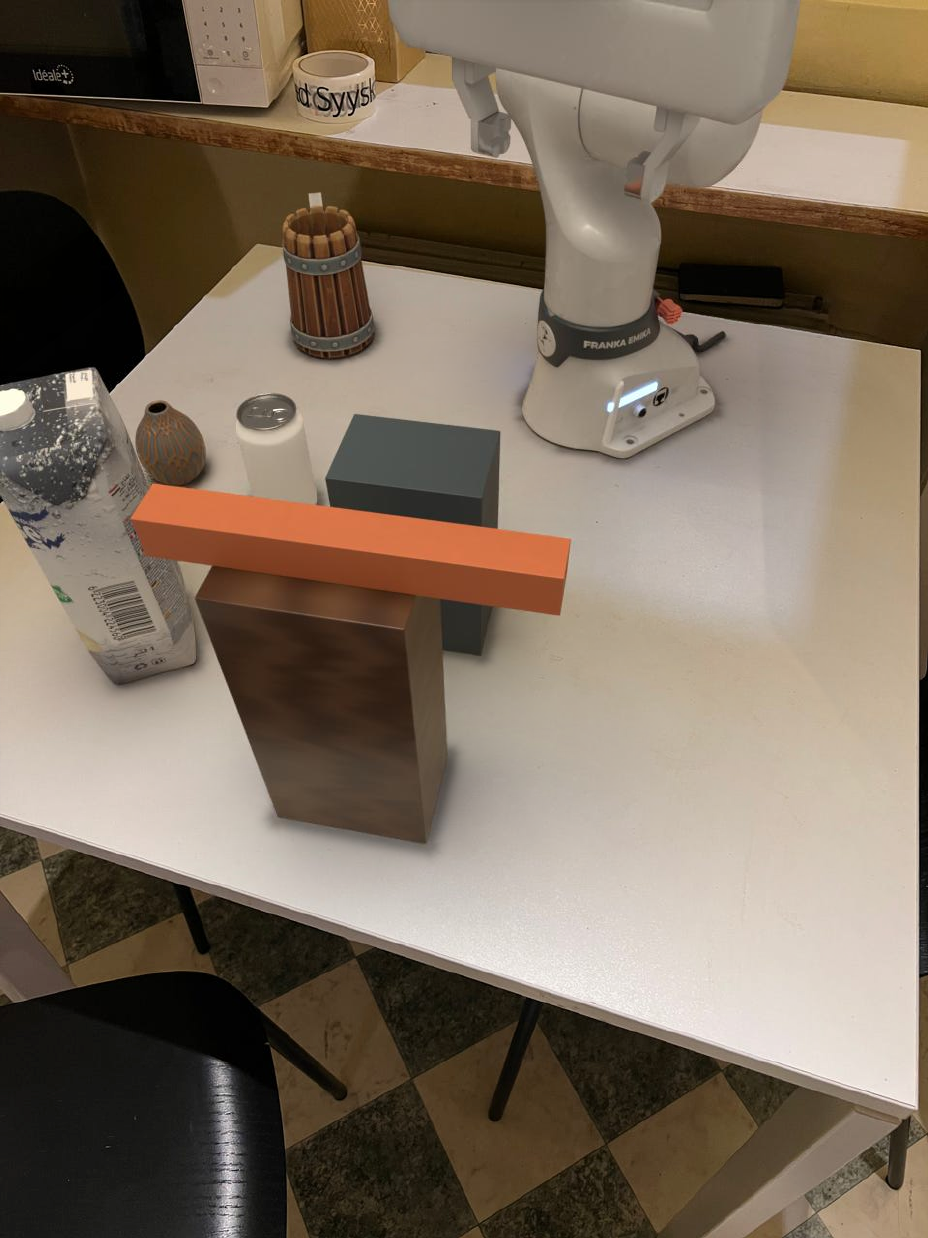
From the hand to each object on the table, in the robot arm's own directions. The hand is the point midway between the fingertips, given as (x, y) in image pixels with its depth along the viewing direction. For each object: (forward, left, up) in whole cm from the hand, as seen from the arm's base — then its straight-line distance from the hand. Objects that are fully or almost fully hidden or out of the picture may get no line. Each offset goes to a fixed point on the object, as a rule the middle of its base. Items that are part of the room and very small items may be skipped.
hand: (563, 173), depth 46 cm
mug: (-3, -58, -42) cm, 72 cm away
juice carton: (+30, -16, -42) cm, 54 cm away
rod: (+17, +7, -16) cm, 24 cm away
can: (+13, -28, -42) cm, 52 cm away
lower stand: (+6, -8, -42) cm, 43 cm away
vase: (+22, -38, -42) cm, 61 cm away
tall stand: (+18, +6, -42) cm, 46 cm away
